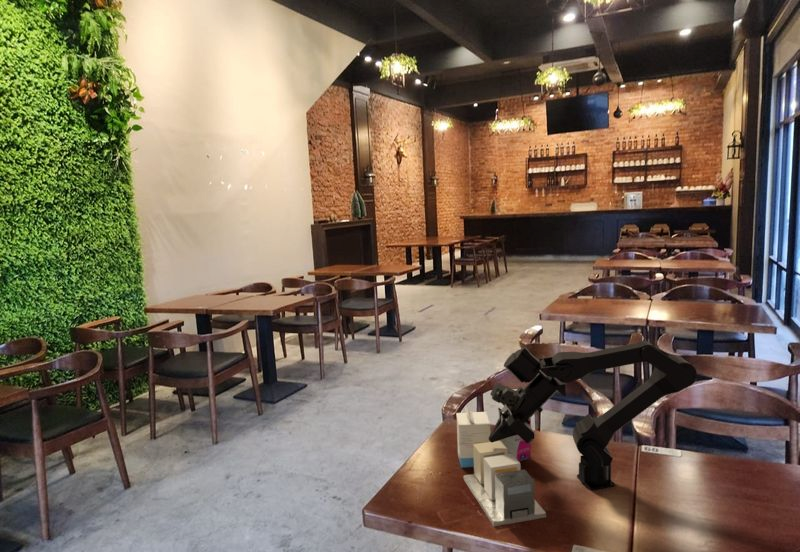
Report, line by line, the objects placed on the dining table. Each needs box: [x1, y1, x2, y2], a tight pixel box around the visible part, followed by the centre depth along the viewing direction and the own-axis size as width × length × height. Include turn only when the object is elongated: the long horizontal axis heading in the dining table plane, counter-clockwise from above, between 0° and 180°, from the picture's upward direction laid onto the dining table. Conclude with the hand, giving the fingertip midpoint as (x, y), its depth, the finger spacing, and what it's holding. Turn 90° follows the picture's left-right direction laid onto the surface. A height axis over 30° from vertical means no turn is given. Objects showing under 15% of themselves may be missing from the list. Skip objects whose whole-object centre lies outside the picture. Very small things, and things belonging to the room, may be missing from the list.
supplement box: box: [500, 417, 532, 463], centre depth 139 cm, size 6×6×12 cm
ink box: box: [455, 406, 492, 469], centre depth 139 cm, size 9×8×13 cm
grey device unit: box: [463, 469, 547, 527], centre depth 120 cm, size 12×20×9 cm, turn 11°
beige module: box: [473, 440, 508, 484], centre depth 127 cm, size 7×5×8 cm
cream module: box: [484, 454, 522, 500], centre depth 120 cm, size 7×5×8 cm
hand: (489, 440), depth 126 cm, fingers closed
